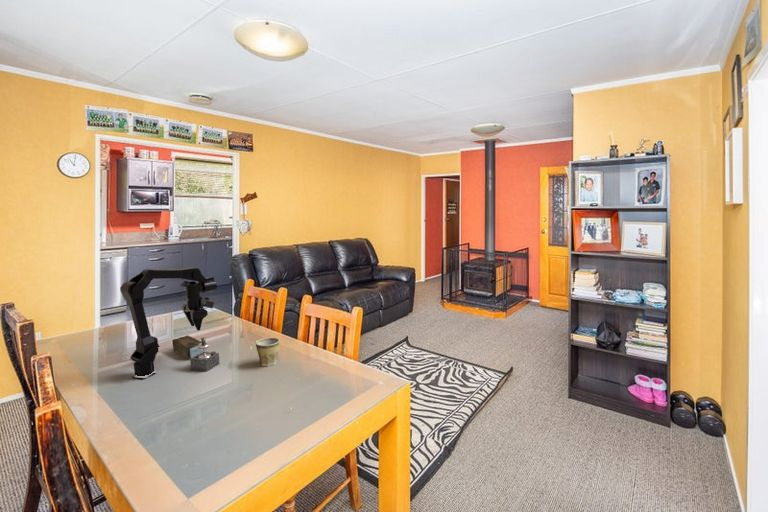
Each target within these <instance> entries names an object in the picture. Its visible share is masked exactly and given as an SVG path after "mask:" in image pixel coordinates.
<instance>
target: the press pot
mask: <svg viewBox="0 0 768 512" xmlns="http://www.w3.org/2000/svg"><path fill="white" fill-rule="evenodd" d="M202 354H203V352H202V353H200V354H198V355H196V356H194V357H192V358H190V359H189V362H190V370H191V371H197V370H198V372H206V371H207V372H209V371H211V370H212V369H214V368H215V366H216V367H217V366H219V365H220V364H221V363H220V354H219V352H217V351H211V352H210V351H207V352H206V354H211V356H210V357H209V358H207V359H199V358H198V356H200V355H202ZM213 367H214V368H213Z"/></svg>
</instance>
